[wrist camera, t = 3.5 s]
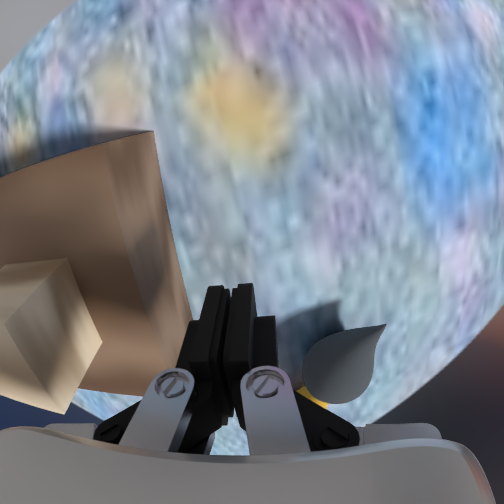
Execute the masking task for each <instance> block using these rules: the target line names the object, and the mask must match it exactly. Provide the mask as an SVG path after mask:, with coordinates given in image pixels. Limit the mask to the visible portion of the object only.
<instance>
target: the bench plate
mask: <svg viewBox="0 0 504 504" xmlns="http://www.w3.org/2000/svg"><path fill="white" fill-rule="evenodd" d="M64 258H68V261H69V264H70V267H71V269H72V272H73V275H74V277H75V280H76V283H77V285H78V288H79V290H80V293H81V295H82V298H83V300H84V302H85V305H86V307H87V310H88V312H89V314H90V316H91V319H92V321H93V323H94V325H95V327H96V330H97V332H98V334H99V336H100V338H101V340H102V344H101V346H100V348H99V349H98V351H97V353H96V355H95V357H94V358H93V360H92V362H91V364H90V366H89V368H88V369H87V371H86V373H85V375H84V377H83V379H82V381H81V383H80V385H79V387H78V388H81V389H87V390H93V391H100V392H108V393H116V394H125V395H134V396H144V394H145V393H146V391H147V389H148V387H149V385H150V383H151V381H152V380H153V379H154V377H155V376H156V375H157V374H159V373H160V372H162V371H164V370H166V369H171V368H175V367H176V364H177V360H178V357H179V353H180V350H181V347H182V343H183V340H184V337H185V333H186V330H187V327H188V324H189V321H191V320H193V318H192V314H191V310H190V306H189V302H188V299H187V295H186V291H185V287H184V283H183V278H182V274H181V270H180V266H179V262H178V257H177V253H176V248H175V244H174V239H173V235H172V230H171V225H170V221H169V216H168V211H167V206H166V201H165V196H164V190H163V185H162V180H161V174H160V168H159V163H158V157H157V151H156V144H155V138H154V131H150V132H146V133H141V134H136V135H132V136H128V137H123V138H119V139H115V140H111V141H107V142H103V143H100V144H96V145H92V146H89V147H85V148H82V149H78V150H75V151H72V152H68V153H65V154H62V155H59V156H56V157H53V158H50V159H47V160H44V161H41V162H38V163H35V164H33V165H30V166H27V167H24V168H22V169H19V170H16V171H14V172H11V173H9V174H6V175H4V176H1V177H0V269H1V268H2V267H3V266H4V265H6V264H16V263H25V262H35V261H45V260H54V259H64Z"/></svg>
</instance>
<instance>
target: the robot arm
mask: <svg viewBox="0 0 504 504" xmlns="http://www.w3.org/2000/svg"><path fill="white" fill-rule="evenodd" d="M234 408H235V411H236V415H237V417H238V421H239V424H240V427H241V428H242V429H244V430H245V431H246V432H247V439H248V446H249V453H250V456H230V455H210V452H211V449H212V445H213V442H214V439H215V431H216V430H218V429H219V428H221V426H222V425H227V424H228V417H233V415H234ZM0 504H496V503H495V500H494V497H493V494H492V491H491V488H490V485H489V483H488V481H487V478H486V476H485V474H484V472H483V469H482V467H481V465H480V464H479V462H478V460H477V459H476V458H475V456H474V455H473V453H472V452H471V451H470V450H469V449H467V448H466V447H465V446H463V445H461V444H459V443H456V442H452V441H447V440H442V439H441V435H440V432H439V431H438V430H437V428H436V427H434V426H432V425H430V424H426V423H413V424H366V426H365V427H355V426H353V425H352V424H351V423H349V422H348V421H346V420H344V419H342V418H341V417H339V416H337V415H335V414H334V413H332V412H330V411H328V410H327V409H325V408H323V407H321V406H320V405H318V404H316V403H315V402H313V401H311V400H310V399H308V398H306V397H305V396H303V395H301V394H300V393H298V392H297V391H295V390H293V389H292V386H291V382H290V379H289V377H288V375H287V373H285V372H284V371H283V370H282V369H280V368H279V366H278V347H277V333H276V321H275V316H262V317H257V311H256V303H255V295H254V287H253V283H246V284H238V288H233V290H232V296H230V291H229V289H224V286H223V285H219V286H209V287H208V289H207V293H206V297H205V300H204V304H203V308H202V311H201V315H200V319H199V320H191V321H189V324H188V327H187V330H186V333H185V337H184V340H183V343H182V347H181V350H180V353H179V357H178V360H177V364H176V367H175V368H171V369H166V370H164V371H162V372H160V373H159V374H157V375H156V376H155V377H154V379H153V380H152V381H151V383H150V385H149V387H148V389H147V391H146V393H145V394H144V396H143V398H142V400H140V401H139V402H137V403H135V404H134V405H132V406H130V407H128V408H127V409H125V410H123V411H121V412H120V413H118V414H116V415H114V416H113V417H111V418H109V419H107V420H105V421H104V422H102V423H101V424H100V425H99V426H96V425H95V424H94V423H93V424H92V423H91V424H50V425H48V426H46V427H44V428H38V427H25V426H22V427H11V428H7V429H4V430H1V431H0Z"/></svg>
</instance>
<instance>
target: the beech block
mask: <svg viewBox="0 0 504 504" xmlns="http://www.w3.org/2000/svg"><path fill="white" fill-rule="evenodd" d="M101 344H102V340H101V338H100V336H99V334H98V332H97V330H96V327H95V325H94V323H93V321H92V319H91V316H90V314H89V312H88V310H87V307H86V305H85V302H84V300H83V298H82V295H81V293H80V290H79V288H78V285H77V283H76V280H75V277H74V275H73V272H72V269H71V267H70V264H69V261H68V258H64V259H54V260H45V261H35V262H25V263H16V264H6V265H4V266H3V267H2V268H1V269H0V395H3V396H6V397H8V398H11V399H14V400H17V401H20V402H23V403H26V404H29V405H32V406H36V407H39V408H43V409H46V410H50V411H53V412H57V413H61V414H65V412H66V410H67V408H68V406H69V404H70V402H71V400H72V398H73V396H74V394H75V392H76V390H77V388H78V387H79V385H80V383H81V381H82V379H83V377H84V375H85V373H86V371H87V369H88V368H89V366H90V364H91V362H92V360H93V358H94V357H95V355H96V353H97V351H98V349H99V348H100V346H101Z"/></svg>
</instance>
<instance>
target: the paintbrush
mask: <svg viewBox="0 0 504 504" xmlns="http://www.w3.org/2000/svg"><path fill="white" fill-rule="evenodd" d="M385 327H386V324H384V325H379V326H371V327H363V328H355V329H350V330H345V331H341V332H337V333H334V334H331V335H329V336H326V337H324V338H322V339H320V340H319V341H317V342H316V343H315V344H313V345H312V346H311V348H310V349H309V350H308V352H307V353H306V355H305V358H304V361H303V366H302V374H303V380H304V384H305V386H303V387H301V388H300V389H298V390H296V391H297V392H298V393H300V394H301V395H303V396H305V397H306V398H308V399H310V400H311V401H313V402H315V403H316V404H318V405H320V406H321V407H323V408H325V409H326V408H327V405H328V403H330V404H342V403H347V402H349V401H352V400H354V399H356V398H357V397H359V396H360V395H361V394H362V393H363V392H364V391H365V390H366V389H367V387H368V385H369V383H370V381H371V378H372V374H373V368H374V353H375V348H376V344H377V342H378V340H379V338H380V336H381V334H382V332H383V331H384V329H385Z"/></svg>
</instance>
